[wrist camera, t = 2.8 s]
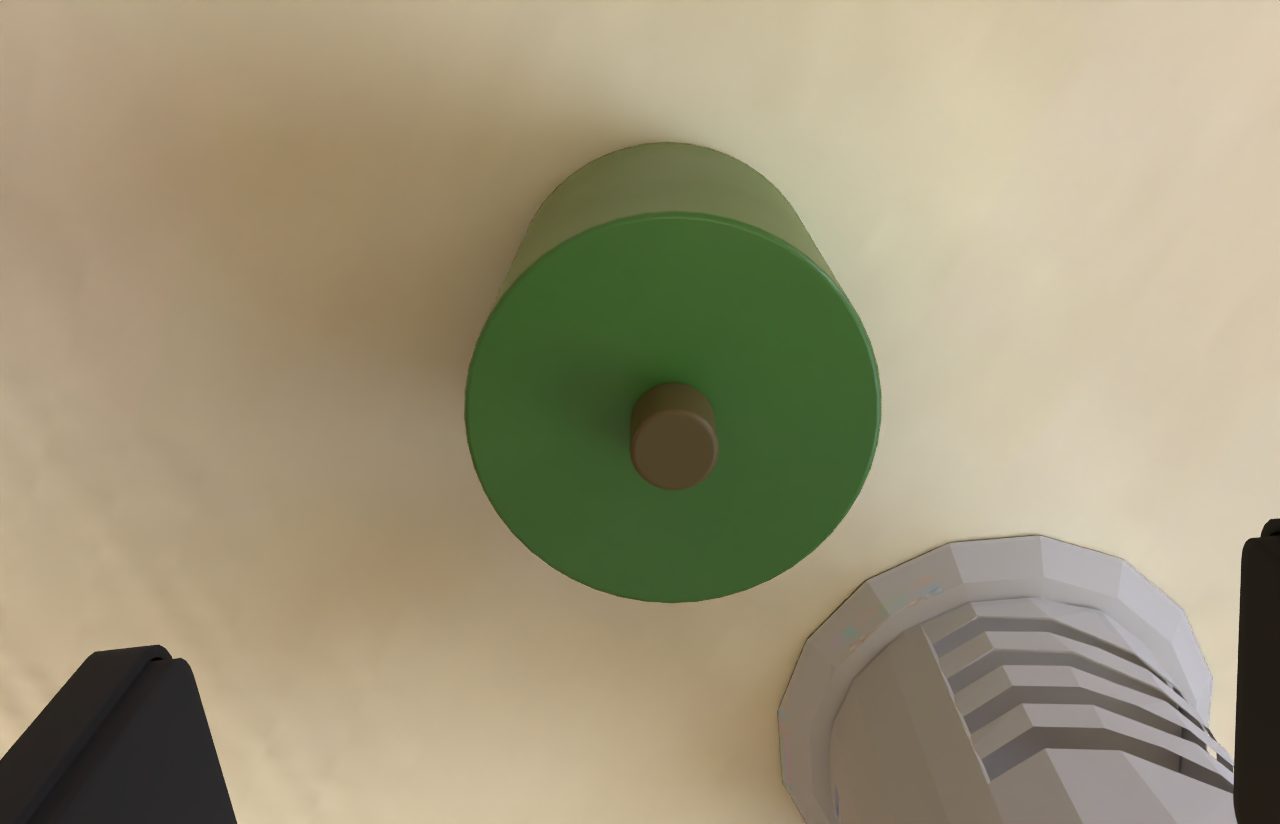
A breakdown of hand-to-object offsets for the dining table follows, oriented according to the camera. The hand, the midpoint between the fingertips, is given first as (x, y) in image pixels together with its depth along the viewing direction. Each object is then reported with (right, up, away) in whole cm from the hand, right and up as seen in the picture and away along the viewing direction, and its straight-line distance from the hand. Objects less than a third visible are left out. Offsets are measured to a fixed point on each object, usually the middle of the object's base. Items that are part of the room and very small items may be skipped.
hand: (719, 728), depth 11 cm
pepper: (0, +5, +13) cm, 14 cm away
